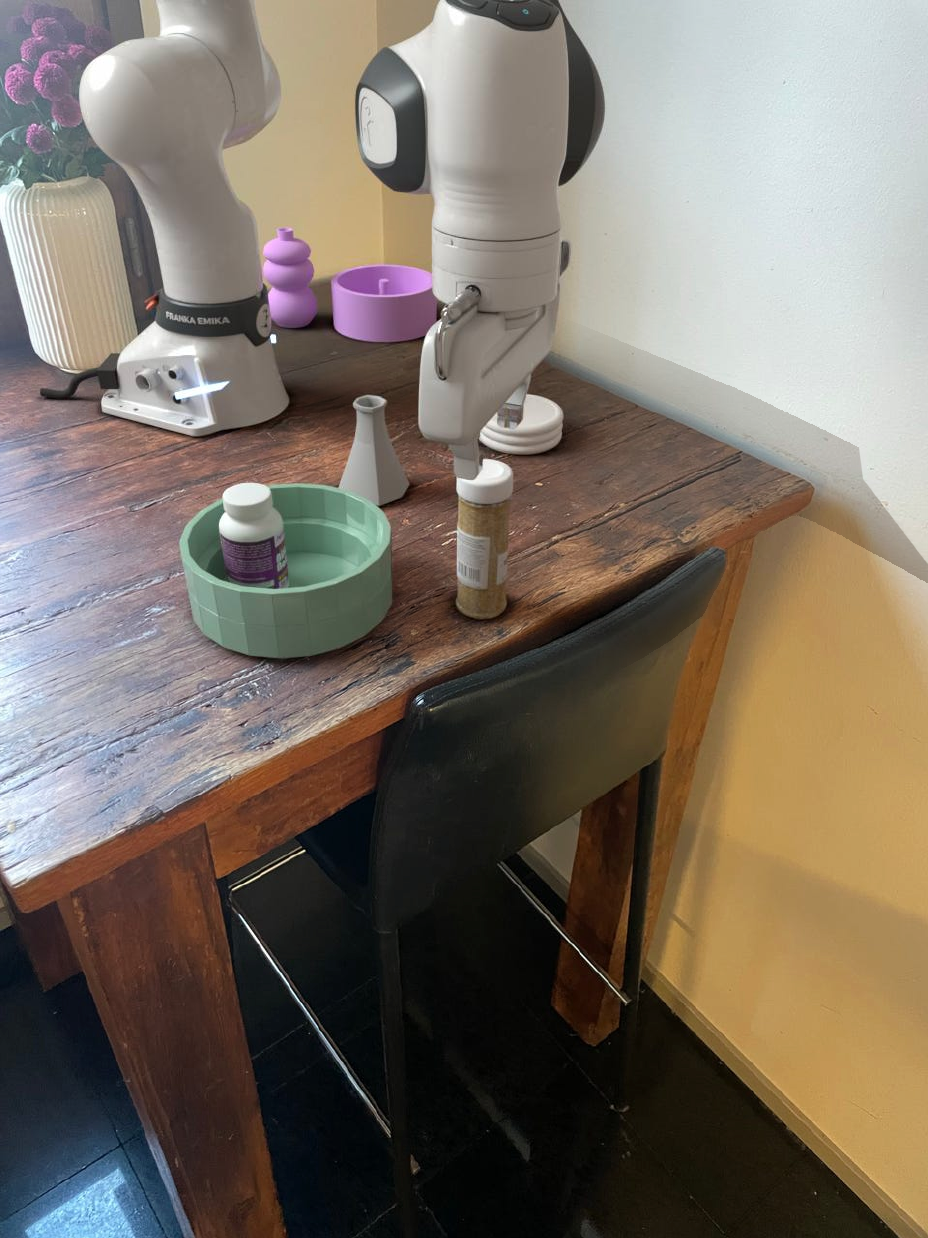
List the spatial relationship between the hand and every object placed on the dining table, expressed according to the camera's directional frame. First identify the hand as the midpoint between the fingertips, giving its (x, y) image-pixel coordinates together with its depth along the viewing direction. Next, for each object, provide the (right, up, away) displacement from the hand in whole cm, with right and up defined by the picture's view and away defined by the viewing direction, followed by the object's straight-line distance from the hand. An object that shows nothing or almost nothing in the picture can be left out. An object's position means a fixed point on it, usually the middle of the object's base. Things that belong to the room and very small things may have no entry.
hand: (490, 448), depth 73 cm
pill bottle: (-20, -11, +10) cm, 25 cm away
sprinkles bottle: (-1, -12, +9) cm, 16 cm away
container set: (-19, +31, +66) cm, 75 cm away
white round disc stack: (+4, +8, +36) cm, 38 cm away
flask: (-12, 0, +26) cm, 28 cm away
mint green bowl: (-17, -12, +9) cm, 23 cm away
